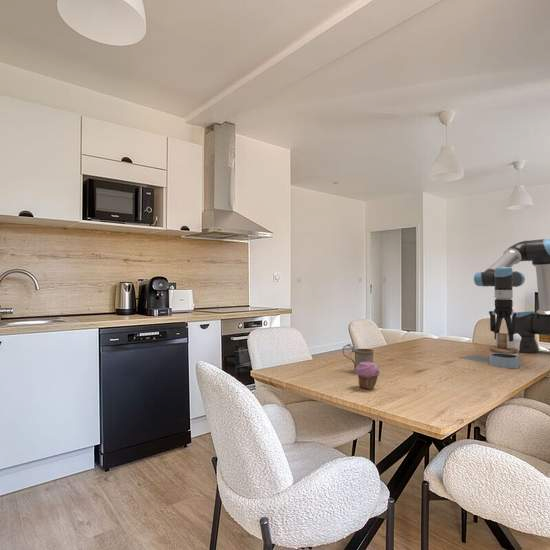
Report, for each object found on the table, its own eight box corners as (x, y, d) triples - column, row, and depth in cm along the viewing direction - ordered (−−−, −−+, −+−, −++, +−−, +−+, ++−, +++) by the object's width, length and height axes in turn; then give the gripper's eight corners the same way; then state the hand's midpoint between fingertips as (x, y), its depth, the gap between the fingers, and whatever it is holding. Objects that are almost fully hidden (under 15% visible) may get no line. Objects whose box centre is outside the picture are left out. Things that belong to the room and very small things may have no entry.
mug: (375, 370, 178) (375, 343, 178) (375, 375, 168) (375, 347, 168) (343, 368, 182) (343, 342, 182) (341, 372, 172) (341, 345, 172)
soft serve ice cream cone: (516, 357, 207) (516, 327, 208) (525, 361, 199) (524, 329, 199) (500, 357, 208) (499, 327, 208) (507, 360, 200) (507, 329, 200)
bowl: (499, 362, 196) (499, 352, 196) (525, 367, 185) (524, 356, 185) (483, 364, 190) (483, 354, 190) (509, 369, 179) (509, 358, 179)
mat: (474, 355, 213) (474, 355, 213) (499, 360, 200) (499, 359, 200) (457, 358, 206) (457, 357, 206) (482, 363, 194) (482, 362, 194)
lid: (499, 348, 195) (499, 331, 196) (523, 352, 185) (523, 334, 185) (484, 350, 190) (484, 333, 190) (508, 354, 179) (508, 336, 179)
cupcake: (351, 387, 148) (351, 361, 148) (363, 383, 154) (363, 358, 154) (371, 392, 141) (371, 365, 141) (384, 388, 147) (384, 361, 148)
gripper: (481, 298, 194) (481, 345, 193) (517, 299, 178) (517, 350, 178) (490, 298, 197) (491, 344, 197) (527, 299, 182) (527, 349, 181)
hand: (503, 347), depth 187 cm, fingers closed on lid, 5 cm apart
